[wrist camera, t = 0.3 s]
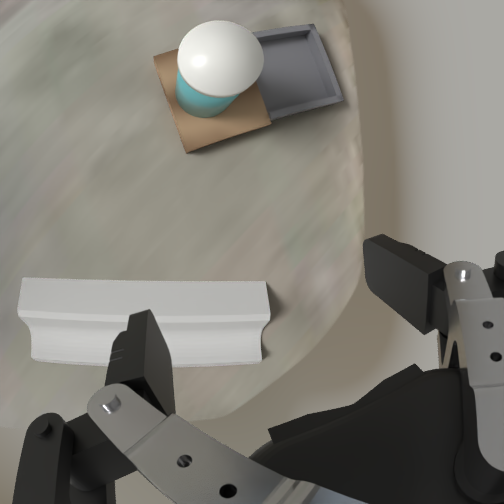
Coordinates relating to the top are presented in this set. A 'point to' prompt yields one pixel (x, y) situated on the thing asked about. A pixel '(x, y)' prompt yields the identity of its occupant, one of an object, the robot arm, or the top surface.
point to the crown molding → (139, 299)
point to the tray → (295, 71)
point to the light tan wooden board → (217, 127)
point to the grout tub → (216, 67)
